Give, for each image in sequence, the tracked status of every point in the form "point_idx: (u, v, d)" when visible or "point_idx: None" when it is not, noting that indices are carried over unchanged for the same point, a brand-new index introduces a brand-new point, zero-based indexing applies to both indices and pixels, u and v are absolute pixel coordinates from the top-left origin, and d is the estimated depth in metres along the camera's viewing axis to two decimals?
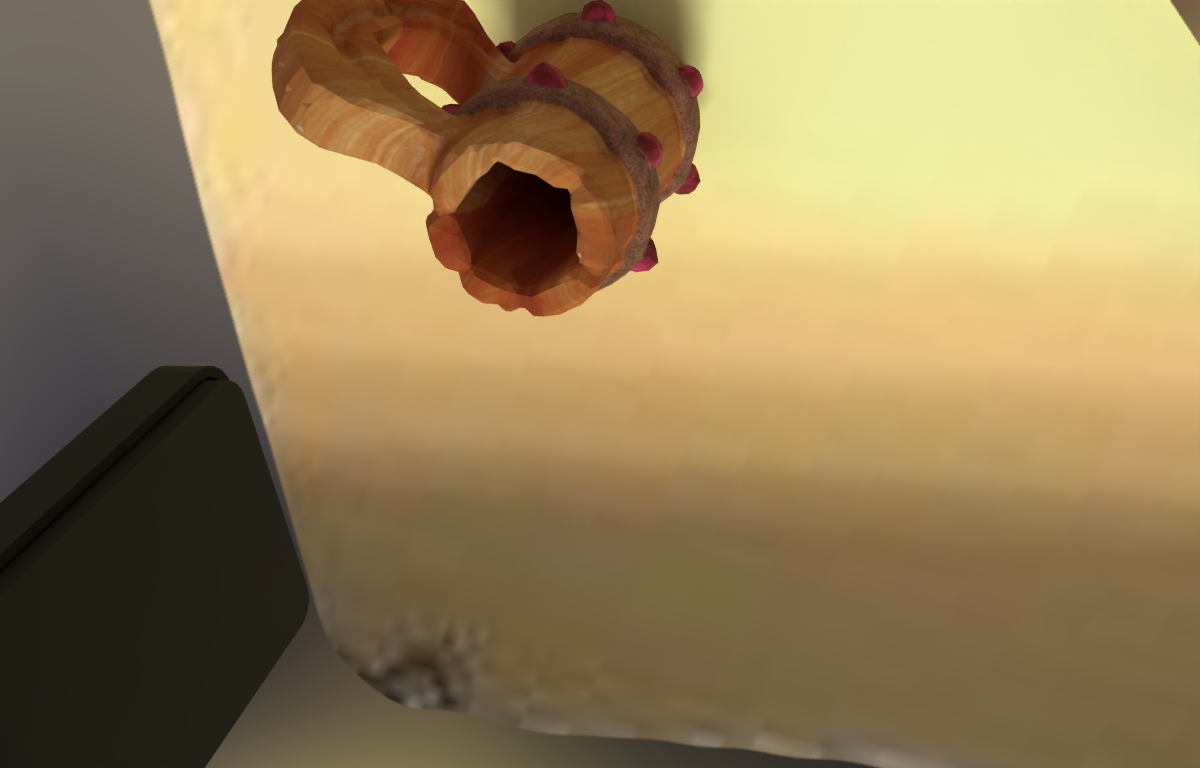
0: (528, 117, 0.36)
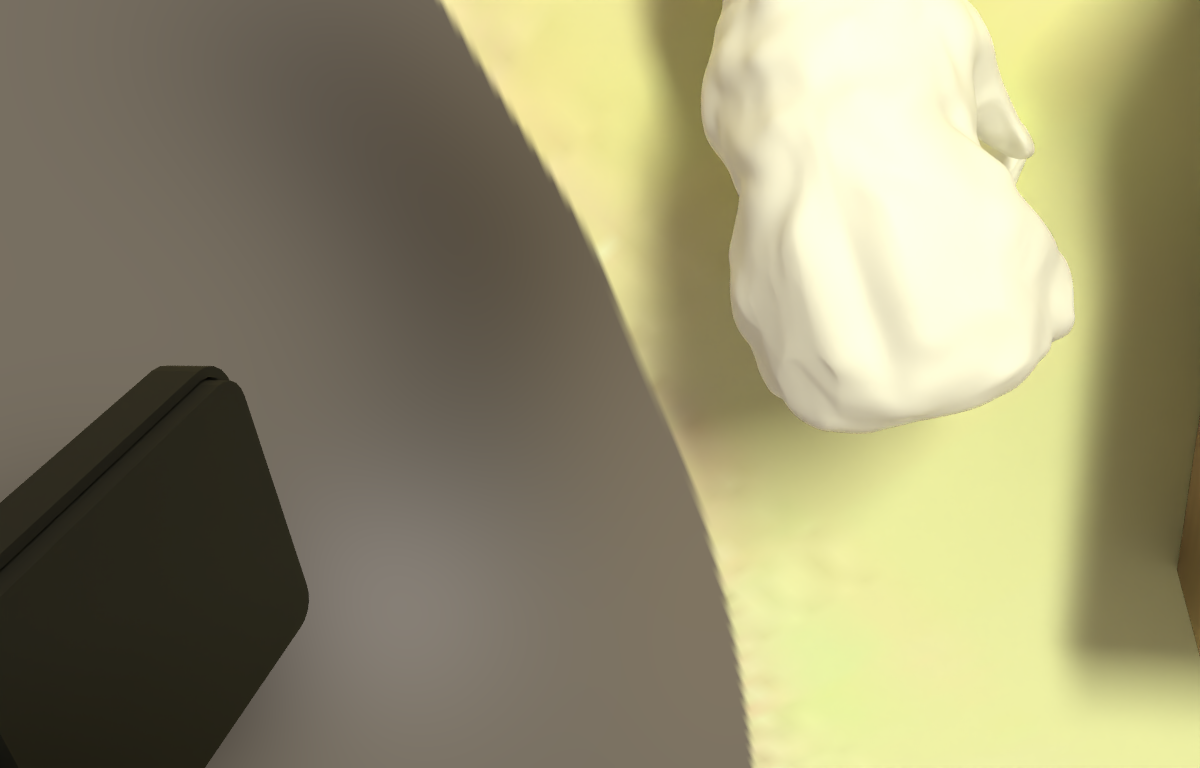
0: None
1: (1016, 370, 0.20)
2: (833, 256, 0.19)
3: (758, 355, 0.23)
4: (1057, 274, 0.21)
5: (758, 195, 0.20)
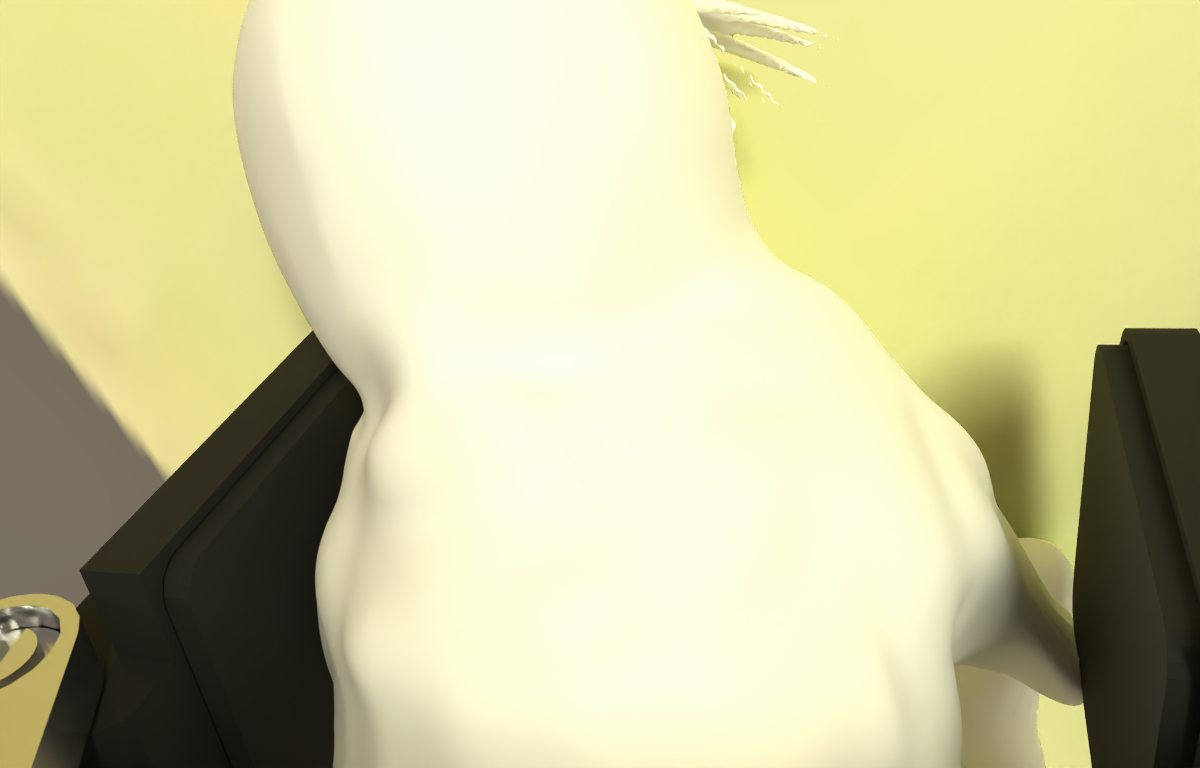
0: None
1: None
2: None
3: None
4: None
5: None
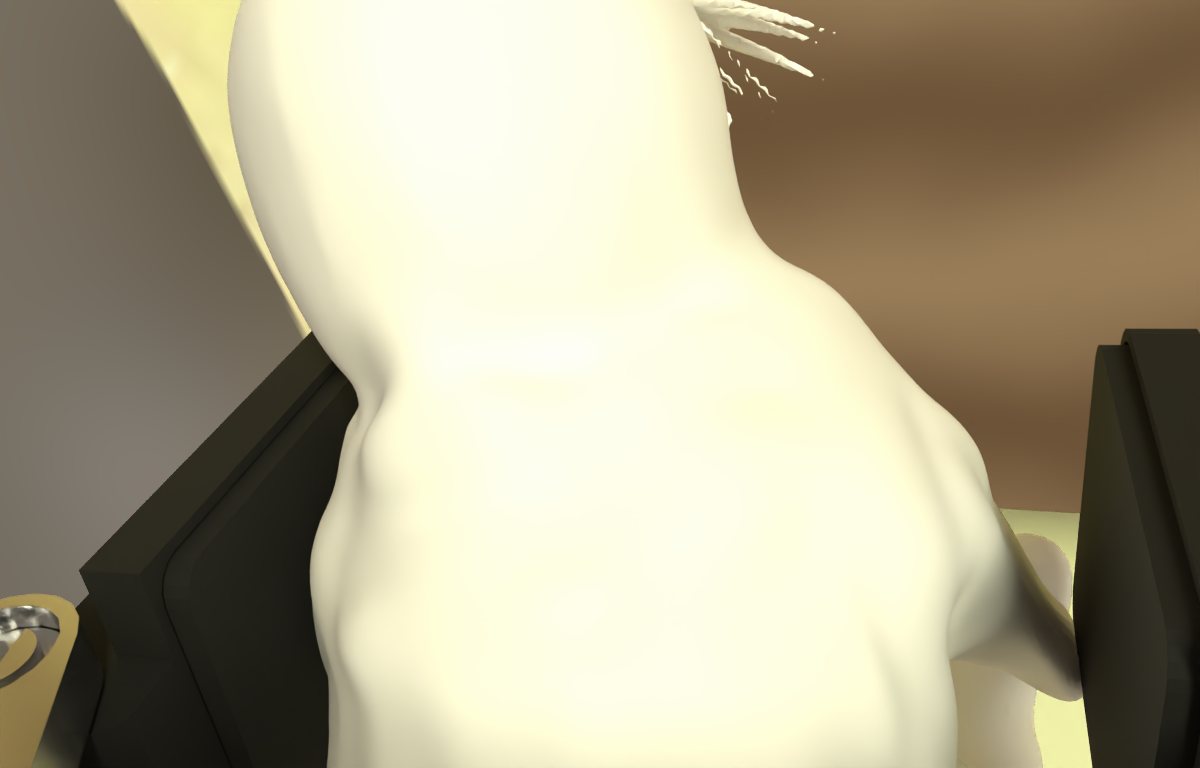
0: None
1: None
2: None
3: None
4: None
5: None
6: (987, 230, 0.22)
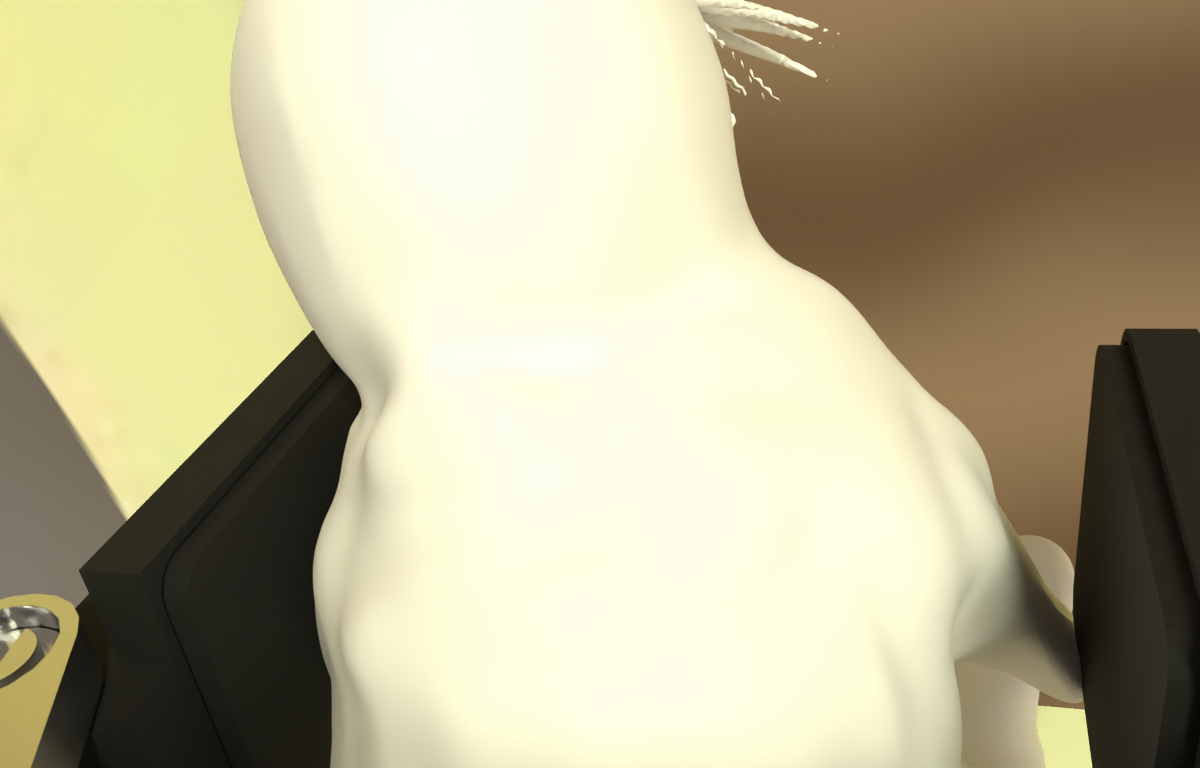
0: None
1: None
2: None
3: None
4: None
5: None
6: None
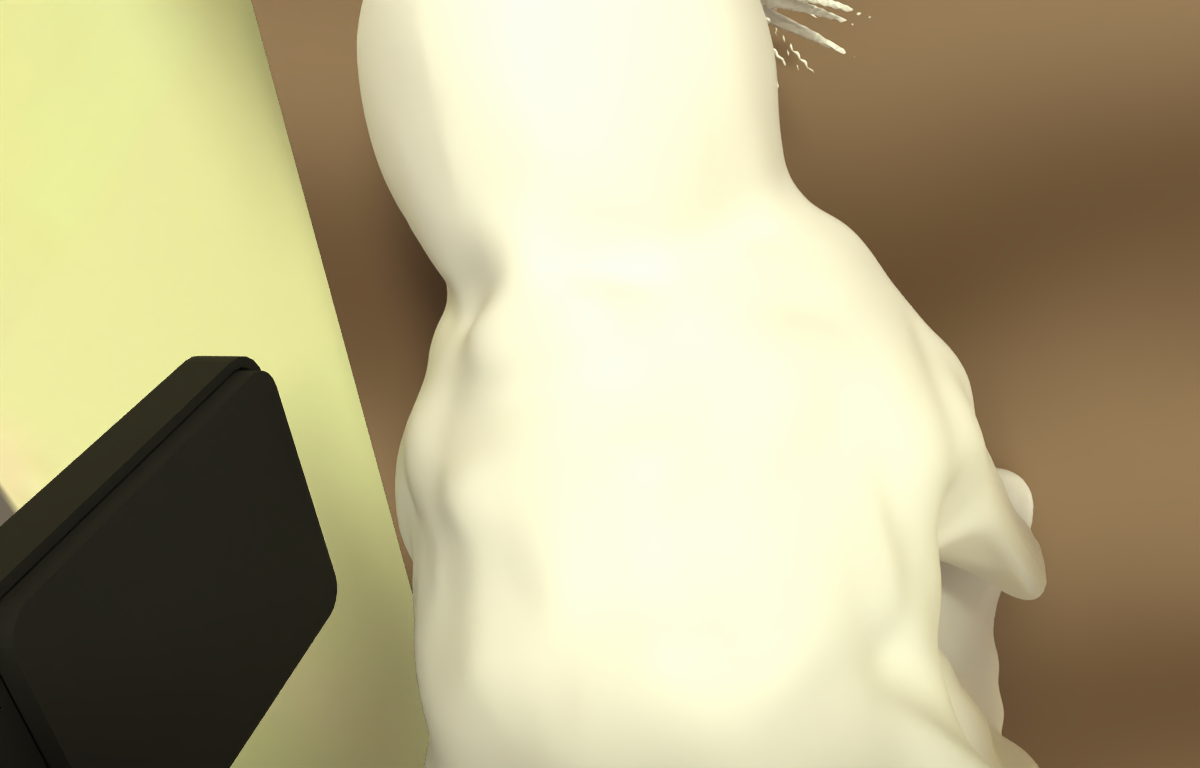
0: None
1: None
2: None
3: None
4: None
5: None
6: None
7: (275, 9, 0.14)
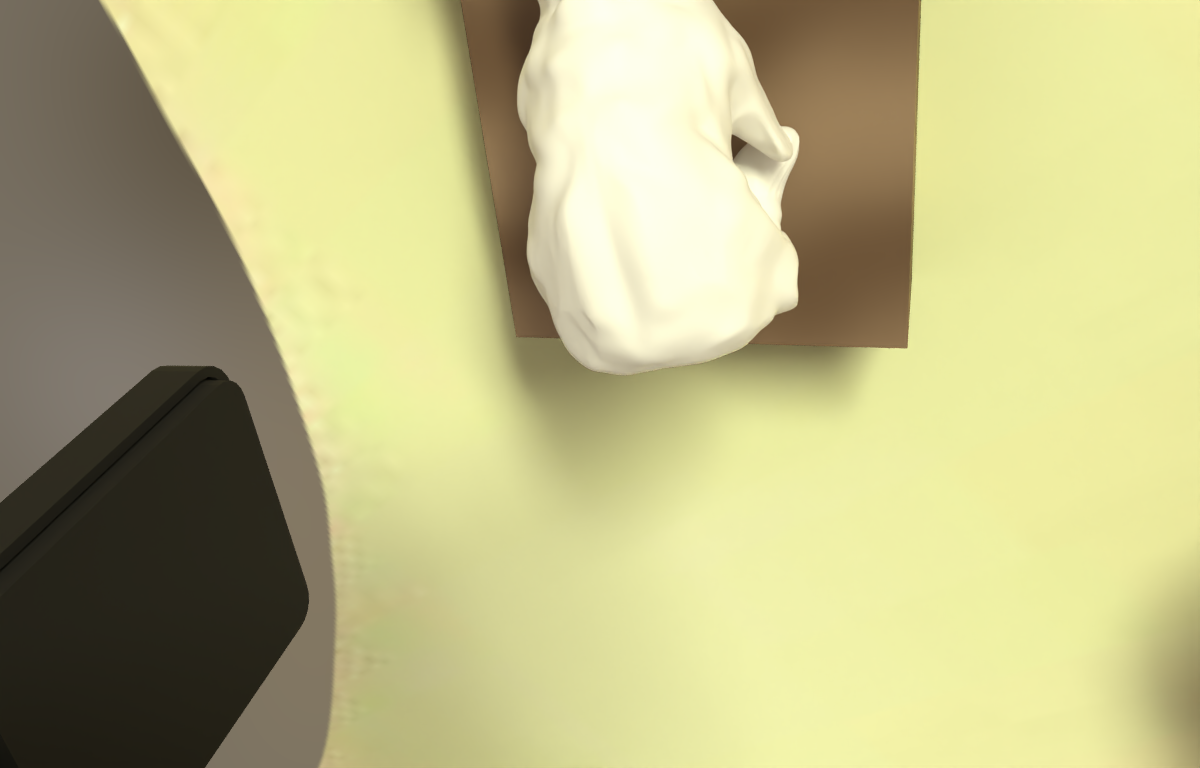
0: None
1: (736, 333, 0.25)
2: (593, 231, 0.24)
3: None
4: (781, 259, 0.26)
5: (543, 177, 0.25)
6: None
7: None
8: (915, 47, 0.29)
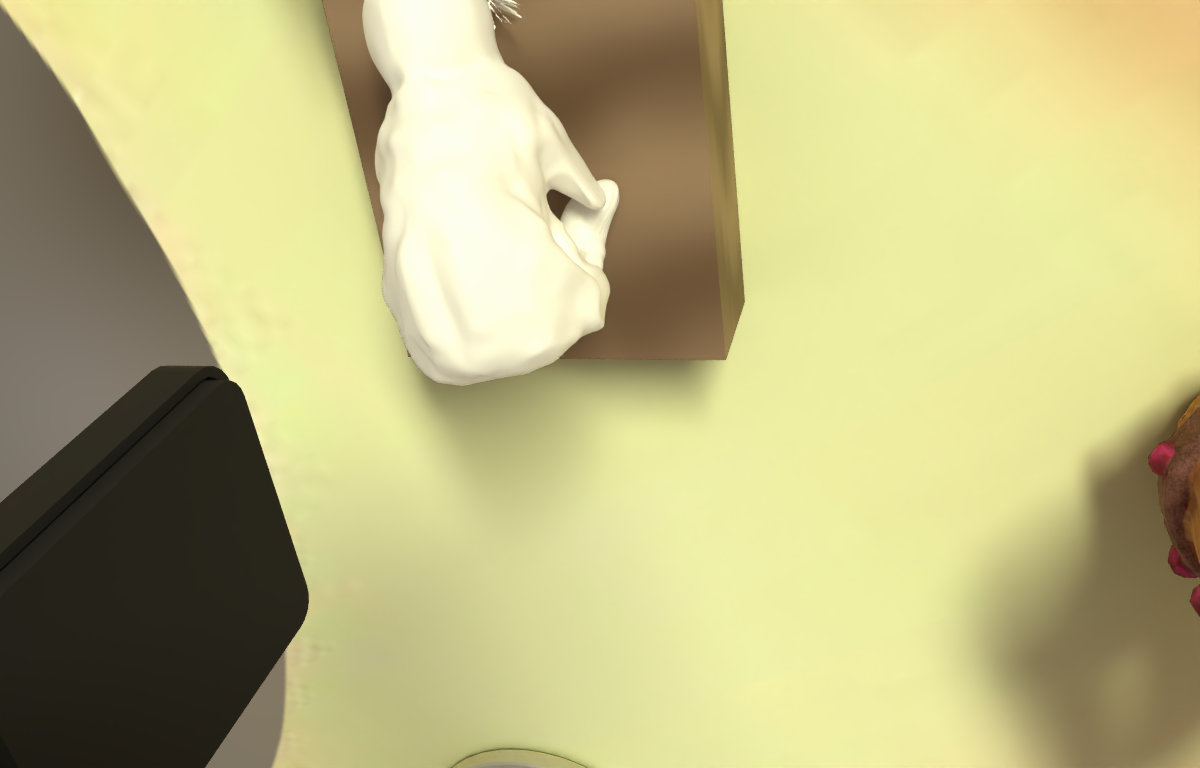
0: None
1: (543, 350, 0.32)
2: (422, 272, 0.31)
3: None
4: (583, 290, 0.33)
5: (386, 229, 0.32)
6: None
7: (331, 3, 0.36)
8: (703, 114, 0.35)
